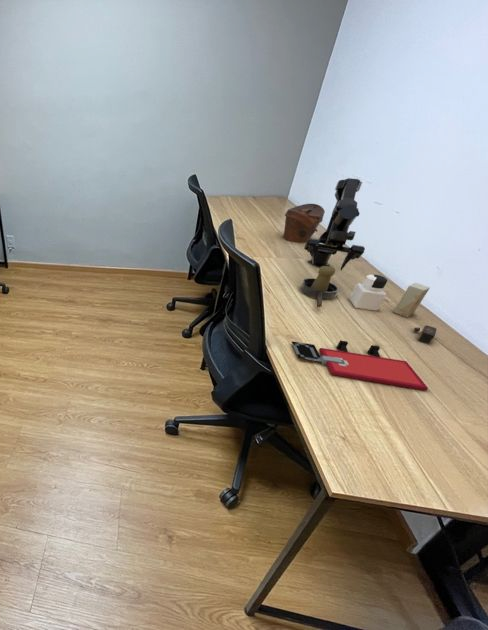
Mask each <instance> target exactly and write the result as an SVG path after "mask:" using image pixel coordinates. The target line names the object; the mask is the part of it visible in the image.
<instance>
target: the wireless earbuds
mask: <svg viewBox="0 0 488 630" xmlns="http://www.w3.org/2000/svg"><path fill="white" fill-rule="evenodd" d="M437 329H438V328H437V327H434V326H431V325H427V324H426V325H424V326H423V328H422V330H421V327H419V326H418V327H414V328H413V331H414V332H416V333H418V332H420V333H419V336H418V340H419V341H420V342H423V343H426V344H430V343H431V342H432V341H433V339H435V338H434V337H435V336H436V333H437V331H438V330H437Z"/></svg>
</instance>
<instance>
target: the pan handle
mask: <svg viewBox="0 0 488 630" xmlns="http://www.w3.org/2000/svg"><path fill="white" fill-rule="evenodd" d="M316 307H318V308H322V307H323V300H322V292H319V291H318V293H317V299H316Z"/></svg>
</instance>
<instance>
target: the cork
mask: <svg viewBox="0 0 488 630" xmlns="http://www.w3.org/2000/svg"><path fill="white" fill-rule="evenodd" d="M335 273H336V269H335V268H334V267H332V266H330V265H329V266H322V267H319V268H318V274H317V276H316V278H314V279H315V281H314V283H313V284H312V286H311V287H310V288H312V289H315V290H319V291H324V292H327V289H328V286H329V282H331V279H332V277H333V276H335Z"/></svg>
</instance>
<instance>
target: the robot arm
mask: <svg viewBox="0 0 488 630" xmlns="http://www.w3.org/2000/svg"><path fill="white" fill-rule="evenodd" d="M362 184H363V182H362V181H361V180H360V179H359V178H350V177H348V178H345V179H340V180H339V181H337V183H336V185H335V188H334V191H335V193H334V197H335V199H336V201H335V205H334V207H333V210H332V212H331V216H330V220H329V221H328V225H327V228H326V230H325V231H324V232H323V233H322V234H320V236H319V238H312V237H311V238H309V239H308V240H307V241H305V242H306V243H305V245H304V247H303V250H305V251H307V253H309V256H310V258H311V260H307V262H308V263H310V264H311V265H313V266H316V267H318V268H320V267H322V266H329V267H330V264H329V260H330V258H331V256H332V255H333V256H334V255H336V254H337V253H338V252H340V253H347V254H346V256H345V257H344V259H343V261H342V263H341V266H340V271H343V269H344V268H345V266H346V265H347V264H348V263H349V262H350V261H351V260H356V259H360V257H361V256H363V254H365V250H366V247H365V246H363V245H359V244H352V245H351V247H348V246H345V245H346V244H347V241H353V240H354V238H355V236H356V231H352V230H349V229H350V226H352V224H353V223H354V221H355V219H357V217H359V216H360V211H359V207H358V202H357V201H356V200H355V199H356V194H357V193H358V192H360V190H361V187H362Z"/></svg>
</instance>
